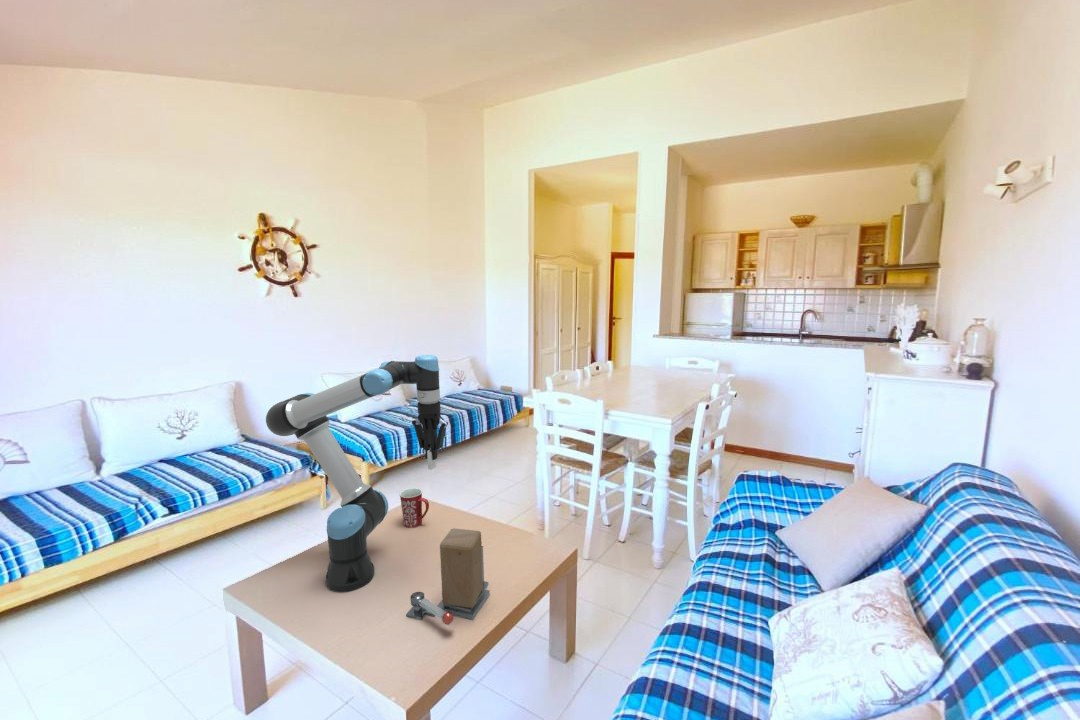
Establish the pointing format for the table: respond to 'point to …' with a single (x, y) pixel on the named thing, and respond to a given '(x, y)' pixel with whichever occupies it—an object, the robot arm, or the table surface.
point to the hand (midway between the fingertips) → (432, 467)
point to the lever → (431, 607)
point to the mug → (412, 507)
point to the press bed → (455, 610)
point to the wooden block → (461, 567)
